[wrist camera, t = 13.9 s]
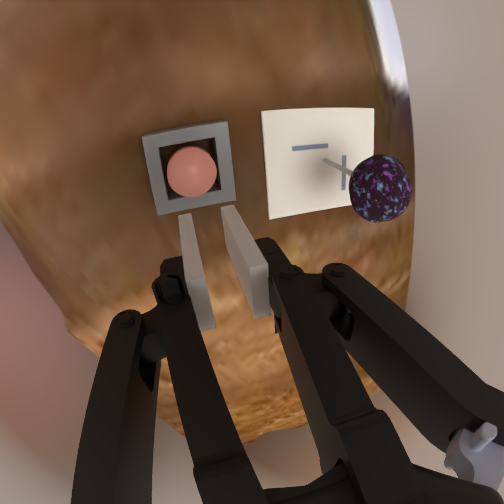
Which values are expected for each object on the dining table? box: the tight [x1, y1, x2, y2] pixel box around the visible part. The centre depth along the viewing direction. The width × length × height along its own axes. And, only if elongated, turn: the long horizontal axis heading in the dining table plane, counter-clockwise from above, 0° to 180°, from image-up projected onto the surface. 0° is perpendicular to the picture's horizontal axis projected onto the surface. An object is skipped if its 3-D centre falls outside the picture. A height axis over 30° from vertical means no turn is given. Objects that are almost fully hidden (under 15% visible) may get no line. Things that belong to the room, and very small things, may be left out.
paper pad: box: [261, 108, 374, 219], centre depth 37 cm, size 14×16×1 cm
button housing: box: [142, 120, 236, 216], centre depth 31 cm, size 9×9×3 cm
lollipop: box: [323, 154, 412, 222], centre depth 30 cm, size 7×7×15 cm
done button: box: [167, 145, 217, 197], centre depth 30 cm, size 5×5×3 cm
